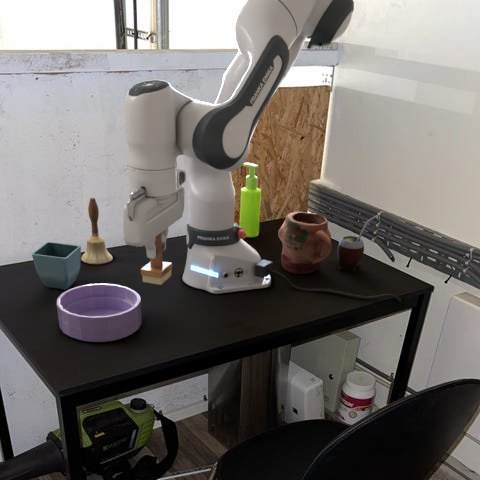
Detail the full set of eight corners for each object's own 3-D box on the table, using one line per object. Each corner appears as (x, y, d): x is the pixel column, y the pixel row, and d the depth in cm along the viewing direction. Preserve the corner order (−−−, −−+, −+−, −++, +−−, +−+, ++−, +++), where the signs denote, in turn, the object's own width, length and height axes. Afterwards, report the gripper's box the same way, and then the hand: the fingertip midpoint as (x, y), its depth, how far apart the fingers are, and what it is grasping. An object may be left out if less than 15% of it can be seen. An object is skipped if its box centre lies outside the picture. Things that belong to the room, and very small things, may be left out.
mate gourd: (329, 265, 175) (336, 210, 166) (352, 261, 178) (360, 206, 169) (346, 275, 170) (354, 218, 161) (369, 270, 173) (379, 214, 164)
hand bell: (116, 254, 175) (112, 194, 165) (108, 265, 168) (103, 203, 159) (86, 252, 175) (80, 192, 166) (77, 263, 168) (70, 201, 159)
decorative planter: (346, 278, 168) (353, 225, 160) (311, 287, 162) (317, 232, 154) (297, 254, 181) (302, 204, 173) (263, 262, 175) (266, 210, 167)
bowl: (138, 306, 148) (137, 282, 145) (144, 341, 134) (143, 315, 131) (61, 310, 145) (57, 285, 142) (59, 346, 131) (55, 319, 128)
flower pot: (70, 294, 152) (66, 258, 147) (36, 290, 153) (30, 253, 148) (85, 280, 159) (81, 245, 154) (52, 276, 160) (47, 241, 155)
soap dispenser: (243, 228, 197) (246, 160, 186) (262, 233, 194) (266, 164, 182) (232, 233, 193) (235, 163, 182) (251, 238, 190) (255, 168, 178)
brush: (153, 272, 131) (150, 225, 126) (172, 275, 130) (171, 228, 125) (141, 282, 127) (138, 233, 121) (161, 285, 126) (159, 237, 120)
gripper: (144, 198, 109) (148, 275, 117) (189, 170, 125) (190, 239, 133) (111, 193, 110) (117, 270, 118) (159, 166, 126) (162, 235, 134)
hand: (156, 253), depth 126 cm, fingers closed on brush, 2 cm apart
